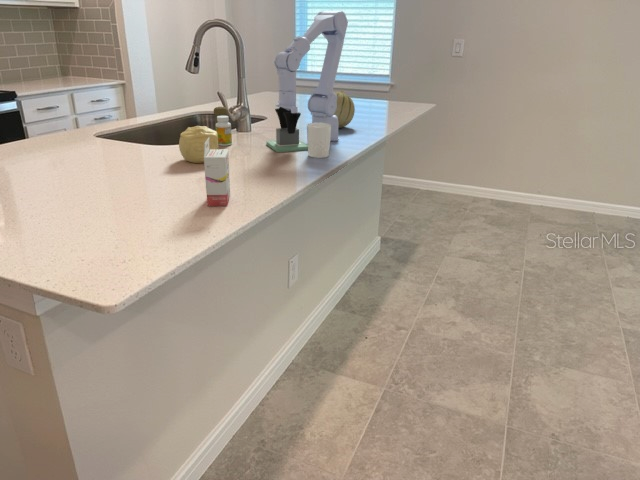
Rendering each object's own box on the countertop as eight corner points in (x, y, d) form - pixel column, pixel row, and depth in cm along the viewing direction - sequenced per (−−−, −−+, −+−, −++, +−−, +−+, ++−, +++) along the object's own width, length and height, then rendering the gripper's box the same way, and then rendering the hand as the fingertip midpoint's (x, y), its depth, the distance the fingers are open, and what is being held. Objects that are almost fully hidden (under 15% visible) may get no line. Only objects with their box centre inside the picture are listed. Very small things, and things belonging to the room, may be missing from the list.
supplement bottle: (213, 144, 175) (211, 116, 171) (225, 142, 179) (224, 114, 175) (222, 146, 172) (221, 118, 168) (235, 144, 175) (233, 116, 172)
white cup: (333, 154, 165) (334, 123, 161) (326, 159, 158) (326, 128, 154) (311, 151, 167) (311, 122, 163) (303, 157, 160) (303, 126, 156)
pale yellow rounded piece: (185, 167, 147) (182, 130, 143) (176, 158, 157) (173, 123, 152) (223, 163, 152) (221, 127, 147) (212, 154, 161) (209, 121, 157)
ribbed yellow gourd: (313, 129, 204) (313, 91, 198) (326, 123, 216) (327, 87, 210) (347, 132, 199) (348, 93, 193) (358, 126, 211) (360, 89, 205)
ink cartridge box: (228, 206, 116) (224, 144, 110) (206, 206, 115) (202, 144, 110) (231, 195, 124) (228, 136, 118) (211, 195, 123) (206, 136, 117)
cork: (226, 138, 184) (225, 108, 179) (211, 137, 185) (209, 107, 180) (232, 135, 189) (231, 106, 185) (217, 134, 190) (215, 105, 186)
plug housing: (295, 141, 175) (295, 127, 173) (299, 144, 172) (299, 129, 170) (276, 142, 173) (276, 128, 171) (279, 145, 170) (279, 130, 168)
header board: (298, 142, 180) (298, 132, 179) (310, 149, 170) (310, 138, 169) (266, 144, 176) (266, 134, 175) (276, 152, 166) (276, 141, 164)
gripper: (269, 88, 170) (270, 128, 176) (282, 93, 158) (283, 136, 163) (289, 87, 173) (289, 126, 178) (303, 92, 160) (303, 134, 166)
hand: (287, 131), depth 171 cm, fingers open, 7 cm apart
